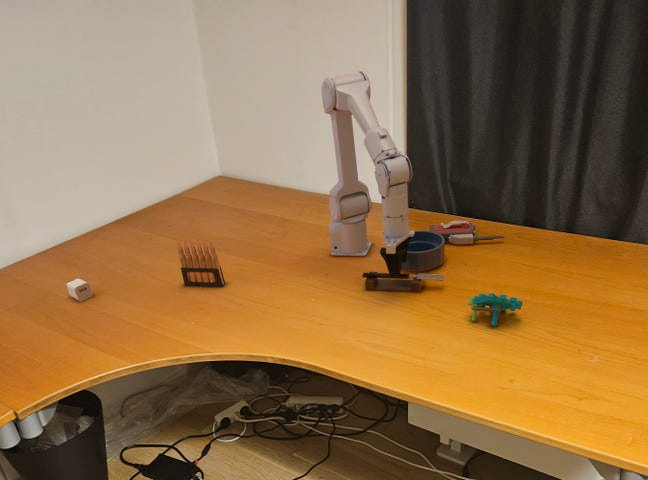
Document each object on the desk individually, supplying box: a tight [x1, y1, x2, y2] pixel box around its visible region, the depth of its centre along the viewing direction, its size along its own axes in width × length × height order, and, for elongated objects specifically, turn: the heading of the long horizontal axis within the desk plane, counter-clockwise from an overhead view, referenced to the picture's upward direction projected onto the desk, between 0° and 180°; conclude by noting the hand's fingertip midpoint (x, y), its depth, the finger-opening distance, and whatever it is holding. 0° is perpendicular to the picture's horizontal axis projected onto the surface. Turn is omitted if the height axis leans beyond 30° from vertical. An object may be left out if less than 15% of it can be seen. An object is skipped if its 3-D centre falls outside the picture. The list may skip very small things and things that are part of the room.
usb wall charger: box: [66, 278, 94, 302], centre depth 158 cm, size 4×7×4 cm, turn 47°
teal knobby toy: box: [467, 292, 524, 327], centre depth 127 cm, size 11×6×10 cm
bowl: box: [401, 230, 446, 272], centre depth 154 cm, size 13×13×6 cm
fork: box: [362, 272, 445, 282], centre depth 143 cm, size 19×2×1 cm, turn 75°
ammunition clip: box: [176, 240, 226, 288], centre depth 153 cm, size 11×2×12 cm, turn 75°
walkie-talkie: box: [429, 219, 505, 245], centre depth 162 cm, size 9×4×20 cm
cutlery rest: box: [364, 271, 425, 293], centre depth 145 cm, size 13×5×2 cm, turn 75°
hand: (398, 269), depth 143 cm, fingers open, 7 cm apart
